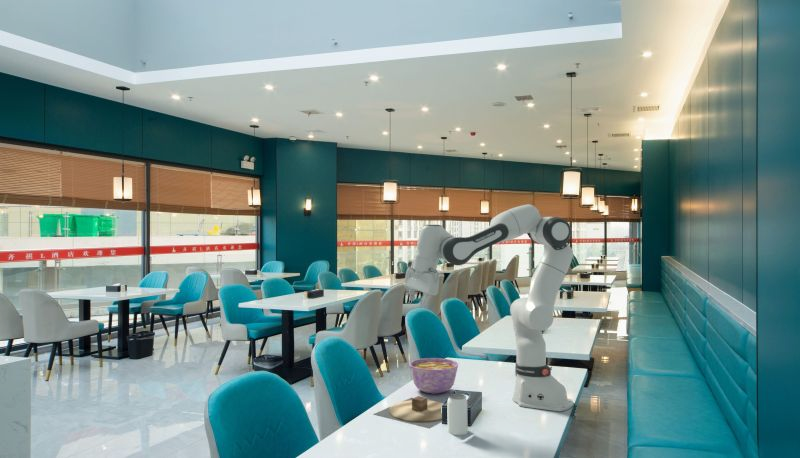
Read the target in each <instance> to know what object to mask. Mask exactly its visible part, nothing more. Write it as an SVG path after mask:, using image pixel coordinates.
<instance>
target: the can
mask: <svg viewBox="0 0 800 458" xmlns="http://www.w3.org/2000/svg"><path fill="white" fill-rule="evenodd" d="M446 405H447V419H446V420H447V424H446V425H447V433H448V434H449V435H453V436H463V435H464V436H465V435H467V434H468V400H467V396H466V395H465V394H462V393H451V394H449V395H448V399H447V402H446Z"/></svg>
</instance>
